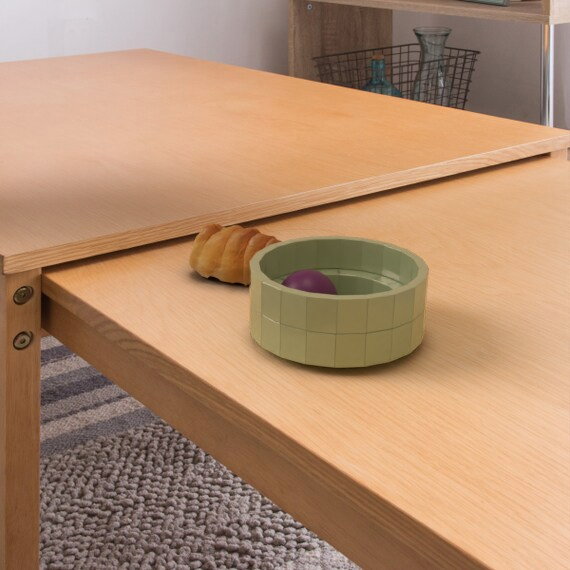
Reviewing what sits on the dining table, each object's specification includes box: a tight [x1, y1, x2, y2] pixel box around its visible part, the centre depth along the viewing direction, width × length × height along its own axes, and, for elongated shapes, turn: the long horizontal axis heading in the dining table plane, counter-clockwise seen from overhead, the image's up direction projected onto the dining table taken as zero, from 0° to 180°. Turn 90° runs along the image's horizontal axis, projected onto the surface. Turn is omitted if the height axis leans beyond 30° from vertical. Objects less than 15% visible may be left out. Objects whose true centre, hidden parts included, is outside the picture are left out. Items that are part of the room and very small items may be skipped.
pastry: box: [188, 222, 283, 286], centre depth 77 cm, size 9×7×4 cm
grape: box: [281, 270, 338, 295], centre depth 66 cm, size 4×4×4 cm
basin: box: [248, 235, 430, 369], centre depth 66 cm, size 12×12×6 cm
